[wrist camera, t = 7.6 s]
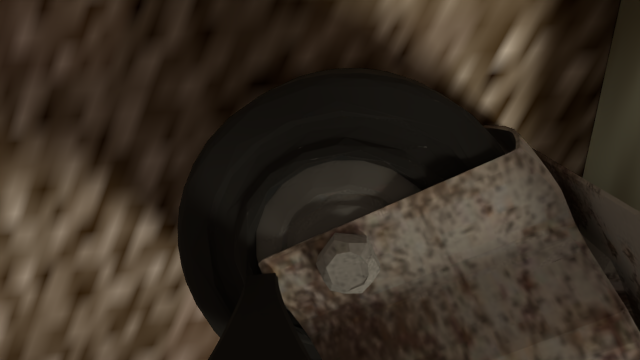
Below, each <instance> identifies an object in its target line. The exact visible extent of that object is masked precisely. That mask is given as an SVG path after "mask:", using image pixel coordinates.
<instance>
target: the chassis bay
mask: <svg viewBox="0 0 640 360" xmlns="http://www.w3.org/2000/svg"><path fill="white" fill-rule="evenodd" d="M583 179H585V180H587V181H589V182H590V183H592V184H594V185H595V186H597V187H599V188H600V189H602V190H604V191H605V192H607V193H609V194H610V195H612V196H614V197H616V198H617V199H619V200H621V201H622V202H624V203H626V204H627V205H629V206H631V207H632V208H634V209H636V210H637V211H639V212H640V0H621V3H620V8H619V12H618V17H617V21H616V26H615V31H614V35H613V40H612V44H611V49H610V54H609V58H608V63H607V67H606V72H605V77H604V81H603V86H602V90H601V95H600V100H599V104H598V109H597V113H596V118H595V123H594V127H593V132H592V136H591V141H590V146H589V150H588V155H587V159H586V164H585V169H584V173H583Z"/></svg>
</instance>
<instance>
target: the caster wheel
mask: <svg viewBox="0 0 640 360" xmlns="http://www.w3.org/2000/svg"><path fill="white" fill-rule="evenodd" d="M178 247H179V254H180V260H181V265H182V269H183V273H184V276H185V280H186V282H187V285H188V287H189V289H190V291H191V293H192V296H193V298H194V300H195V302H196V305H197V306H198V308H199V309H200V311H201V312H202V313H203V315H204V316H205V318H206V319H207V321H208V322H209V324H210V325H211V327H212V328H213V330H214V331H215V332H216V334H217V335H218V336H219V337H220V338H221V336H222V334H223V332H224V330H225V328H226V326H227V324H228V322H229V320H230V318H231V316H232V314H233V312H234V309H235V307H236V305H237V303H238V300H239V298H240V295H241V293H242V290H243V287H244V284H245V281H246V278H247V276H249V275H259V274H269V273H276V276H277V277H278V283H279V288H280V292H281V295H282V299H283V301H284V304H285V307H286V309H287V312H288V314H289V316H290V319H291V321H292V323H293V325H294V327H295V329H296V331H297V333H298V335H299V337H300V339H301V341H302V343H303V345H304V347H305V349H306V350H307V352H308V354H309V355H310V357H311V359H312V360H640V212H639V211H637V210H636V209H634V208H632V207H631V206H629V205H627V204H626V203H624V202H622V201H621V200H619V199H617V198H616V197H614V196H612V195H610V194H609V193H607V192H605V191H604V190H602V189H600V188H599V187H597V186H595V185H594V184H592V183H590V182H589V181H587V180H585V179H583V178H582V177H580V176H578V175H577V174H575V173H573V172H572V171H570V170H568V169H567V168H565V167H563V166H562V165H560V164H558V163H556V162H555V161H553V160H551V159H550V158H548V157H546V156H545V155H543V154H541V153H540V152H538V151H536V150H535V149H533V148H531V147H530V146H529V145H528V143H527V142H526V141H525V140H524V139H523V138H522V137H521V136H520V135H519V134H518V133H517V132H516V131H515V130H514V129H512V128H509V127H506V126H491V125H485V126H482V125H481V124H480V123H479V122H478V121H477V120H476V119H475V118H474V117H473V115H471V114H470V113H468V112H467V111H466V110H464V109H463V108H461V107H460V106H458V105H457V104H456V103H454V102H453V101H451V100H450V99H448V98H447V97H445V96H444V95H442V94H441V93H439V92H437V91H435V90H433V89H431V88H429V87H427V86H425V85H423V84H421V83H419V82H418V81H415V80H413V79H409V78H406V77H403V76H400V75H397V74H393V73H390V72H387V71H380V70H372V69H365V68H344V69H331V70H326V71H320V72H315V73H311V74H308V75H304V76H300V77H297V78H295V79H293V80H291V81H289V82H287V83H284V84H282V85H280V86H278V87H276V88H274V89H271V90H269V91H268V92H266V93H264V94H262V95H261V96H259V97H258V98H256V99H255V100H253V101H252V102H251V103H249V104H248V105H246V106H245V107H243V108H242V109H241V110H239V111H238V112H236V113H235V114H234V115H232V116H231V117H229V118H228V120H227V121H226V122H225V123H224V124H223V125H222V126H221V127H220V128H219V129H218V130H217V132H216V133H215V134H214V135H213V136H212V137H211V138H210V139H209V140H208V141H207V143H206V144H205V146H204V148H203V149H202V151H201V153H200V154H199V156H198V158H197V159H196V161H195V163H194V164H193V167H192V169H191V172H190V174H189V177H188V179H187V182H186V184H185V187H184V190H183V194H182V199H181V203H180V207H179V218H178Z"/></svg>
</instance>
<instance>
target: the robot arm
mask: <svg viewBox="0 0 640 360" xmlns="http://www.w3.org/2000/svg"><path fill="white" fill-rule="evenodd" d="M208 360H312V359H311V357H310V355H309V354H308V352H307V350H306V349H305V347H304V345H303V343H302V341H301V339H300V337H299V335H298V333H297V331H296V329H295V327H294V325H293V323H292V321H291V319H290V316H289V314H288V312H287V309H286V307H285V304H284V301H283V299H282V295H281V292H280V288H279V283H278V277H277V276H276V273H269V274H259V275H249V276H247V278H246V281H245V284H244V287H243V290H242V293H241V295H240V298H239V300H238V303H237V305H236V307H235V309H234V312H233V314H232V316H231V318H230V320H229V322H228V324H227V326H226V328H225V330H224V332H223V334H222V336H221V338H220V340H219V341H218V343H217V345H216V347H215V349H214V350H213V352H212V354H211V355H210V357H209V359H208Z"/></svg>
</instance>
